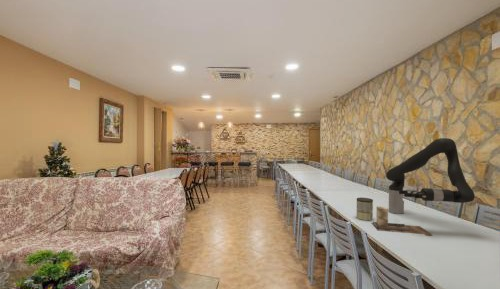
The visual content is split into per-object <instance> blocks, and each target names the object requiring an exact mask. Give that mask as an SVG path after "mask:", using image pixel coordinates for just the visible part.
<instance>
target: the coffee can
mask: <svg viewBox="0 0 500 289" xmlns="http://www.w3.org/2000/svg"><path fill="white" fill-rule="evenodd" d="M373 206H374V198H373V199H372V198H370V197H369V198H368V197H357V198H356V219H357V220H360V221H366V222H373V217H374V216H373V214H374V212H373V210H374V207H373Z"/></svg>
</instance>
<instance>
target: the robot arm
mask: <svg viewBox="0 0 500 289" xmlns="http://www.w3.org/2000/svg"><path fill="white" fill-rule="evenodd" d="M439 154H444V155H445V156H446V159H447V168H446V169H447V176H448V178H449V181H450V184H451V186H452V187H455V188H456V190H450V189H445V188H444V189H442V188H441V189H440V188H428V187H427V188H425V187H423V188H421V189H420V191H419V190H418V189H417V190H416V189H415V190H414V189H405V190H404V187H405V181H406V180H405V179H406V176H405V174H407V173H411V172H414V171H417V170H419V169H421V168H423V167H425V165H427V164H428V162H429V160H430V159H431V158H433V157H435V156H436V155H439ZM385 176H386V179H387V180H389V182H390V181H391V182H392V183H391V184H389V186H388V213H391V214H397V215H403V214H405V200H404V198H403V196H404V197H405V198H413V199H421V200H422V201H424V202H451V203H458V204H459V203H460V204H465V203H466V204H467V203H471V202H473V201H474V200H475V197H476V196H475V195H476V194H475V192H474V190H473V189H472V187H471V186H470V185H469V184H468V182H467V180H466V177H465V175H464V172H463V170H462V167H461V163H460V158H459V154H458V149H457V144H456V142H455V140H454V139H451V138H446V137H445V138H443V137H439V138H436V139H434V140H433V141H431V142H430V143H429V144H428V145H427V146H426V147H424V148H423V149H421V150H420V151H418V152H416V153H415V154H413V155H411V156H410V157H409V158H407V159H406V160H404V161H402V162H401V163H399V164H398V165H396V166H394V167H391V168H390V169H389V170H387V171H386V174H385Z"/></svg>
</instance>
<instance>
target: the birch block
mask: <svg viewBox="0 0 500 289" xmlns="http://www.w3.org/2000/svg"><path fill="white" fill-rule="evenodd" d="M375 222H376V224H377V225H378V226H384V227H388V223H389V208H387V207H386V206H376V221H375Z"/></svg>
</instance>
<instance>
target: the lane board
mask: <svg viewBox="0 0 500 289" xmlns="http://www.w3.org/2000/svg"><path fill="white" fill-rule="evenodd" d="M371 226H373V227H374V228H375V229H376V231H379V232H391V233H402V234H403V233H404V234H405V233H406V234H417V235H418V234H419V235H425V236H427V237H428V236H429V237H433V234H432V233H430V232H429V231H427V230H426V229H424V228H423V227H422V226H420V225H409V224H408V225H407V224H405V223H396V222H395V223H393V222H388V227H384V226H378V225H377V224H376V221H372V222H371Z"/></svg>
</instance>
